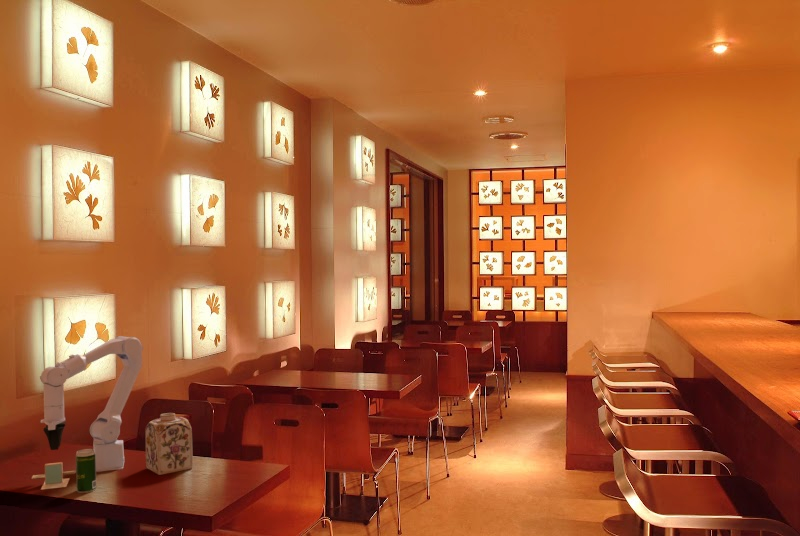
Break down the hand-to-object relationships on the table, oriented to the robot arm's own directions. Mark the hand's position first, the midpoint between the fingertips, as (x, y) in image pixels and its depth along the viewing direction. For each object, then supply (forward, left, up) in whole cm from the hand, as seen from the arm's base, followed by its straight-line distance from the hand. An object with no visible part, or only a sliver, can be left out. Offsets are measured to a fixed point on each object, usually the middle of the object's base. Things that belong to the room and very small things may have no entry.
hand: (55, 448), depth 227 cm
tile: (0, +5, -10) cm, 11 cm away
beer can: (-10, +17, -10) cm, 22 cm away
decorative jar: (-34, +1, -10) cm, 36 cm away
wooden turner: (+1, -5, -10) cm, 11 cm away
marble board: (0, +6, -10) cm, 11 cm away
